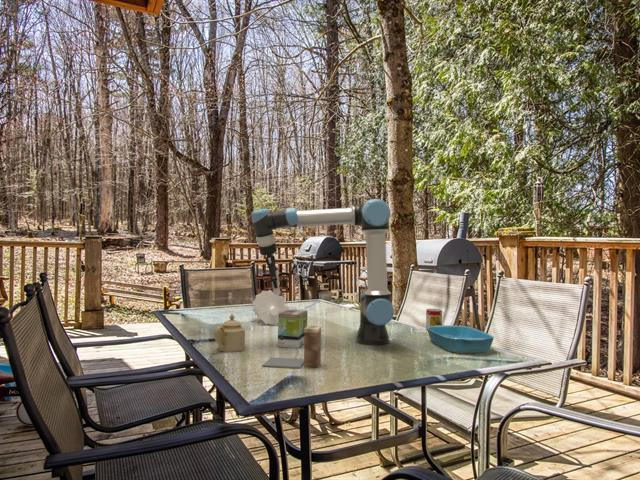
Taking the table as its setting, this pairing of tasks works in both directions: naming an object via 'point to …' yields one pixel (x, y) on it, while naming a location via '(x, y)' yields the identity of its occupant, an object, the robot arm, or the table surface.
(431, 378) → the table surface
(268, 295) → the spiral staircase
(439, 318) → the canned food
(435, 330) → the casserole dish
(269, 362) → the mat
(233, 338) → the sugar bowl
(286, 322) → the tea box
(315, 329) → the walnut block
